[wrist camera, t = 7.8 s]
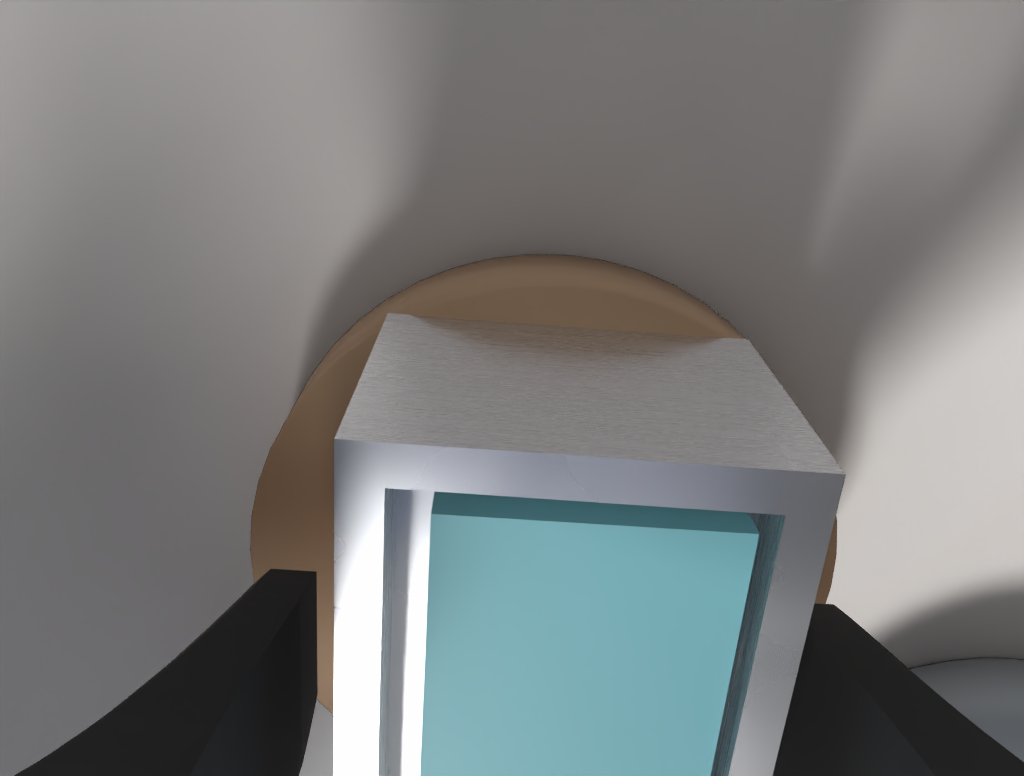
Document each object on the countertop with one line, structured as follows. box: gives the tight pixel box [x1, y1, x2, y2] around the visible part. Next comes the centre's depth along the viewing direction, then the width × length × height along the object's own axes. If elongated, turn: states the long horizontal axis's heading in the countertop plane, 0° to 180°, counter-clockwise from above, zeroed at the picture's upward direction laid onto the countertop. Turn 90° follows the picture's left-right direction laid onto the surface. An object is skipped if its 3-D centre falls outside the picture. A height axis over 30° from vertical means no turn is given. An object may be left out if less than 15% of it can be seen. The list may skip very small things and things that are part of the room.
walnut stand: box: [250, 255, 837, 715], centre depth 15 cm, size 9×9×2 cm
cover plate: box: [420, 492, 759, 776], centre depth 11 cm, size 6×3×1 cm, turn 176°
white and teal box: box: [334, 313, 846, 776], centre depth 12 cm, size 8×5×4 cm, turn 176°
